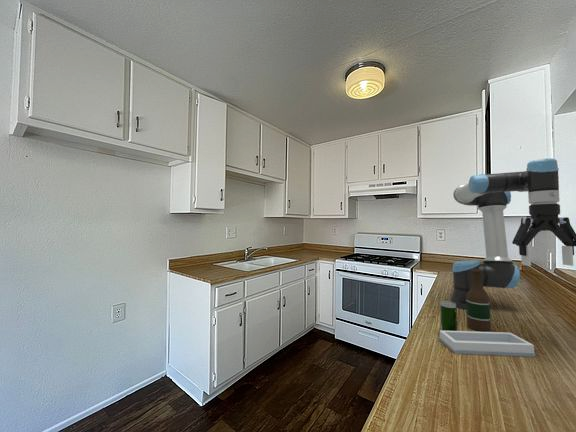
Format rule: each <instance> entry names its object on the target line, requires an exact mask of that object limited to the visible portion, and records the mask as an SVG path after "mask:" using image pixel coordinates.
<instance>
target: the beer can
mask: <svg viewBox="0 0 576 432" xmlns="http://www.w3.org/2000/svg"><path fill="white" fill-rule="evenodd" d="M439 307H440V308H439V309H440V310H439V311H440V313H439V314H440V330H442V331H459V330H458V309H457V308H458V307H457V306H456V303H453V302H450V300H442V301H440V304H439Z"/></svg>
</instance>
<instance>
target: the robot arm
mask: <svg viewBox="0 0 576 432" xmlns="http://www.w3.org/2000/svg"><path fill="white" fill-rule="evenodd" d="M559 169H560V168H559V166H558V160H557V159H555V158H541V159H535V160H530V161H529V162H527V164H526V170H524V171H513V172H512V171H511V172H510V171H509V172H501V173H485V174H484V173H482V174H481V173H480V174H476V175H475V174H474V175H471V176H470V177H469V180H468V183H466V184H462V185H461V184H460V185H459V186H457V188H455V189H454V191H453V199H454V200H455V201H456V202H457V203H458V204H461V205H464V206H477V209H478V210H479V211H480V212H481V214H482V222H483V224H482V225H483V233H484V235H483V236H484V237H483V238H484V245H485V246H484V248H485V256H486V257H485V258H484V259H483V260H482V262H483V263H481V262H480V260H476V259H475V260H473V259H472V260H471V259H470V260H469V259H468V260H467V259H466V260H458V261H454V263H453V264H452V270H451V271H452V280H453V281H452V282H453V284H452V285H453V287H452V288H453V290H452V293H451V296H450V299H449V302H453V303H456V306H457V308H459V309H463V310H467V303H466V297H467V293H468V291H469V290H470V289H471V285H472V272H471V269H473V268H476V269H481V270H482V272H481V274H482V282H483V288H495V289H496V288H497V289H499V288H500V289H515V288H516V287H517V286H518V284H519V282H520V278H521V270H520V269H519V266H518V265H517V264H514V261H513V260H512V259H511V258H510V257H509V253H508V243H507V242H508V241H507V232H506V225H505V224H506V223H505V217H504V211H505V210H506V208H508V207H507V206H508V205H509V204H511V201H512V194H511V192H519V193H523V192H525V193H527V192H528V196H527V197H528V204H530V205H529V206H528V214H529V216H530V217H531V218H530V217H521V219H520V225H519V227H518V229H517V231H516V233H515V235H514V237H513V240H512V242H511V243H512V244H513V245H516V246H517V247H518V253H519V256H520V259H521V261H520V262H521V265H522V266H526V267H531V266H532V261H531V257H532V255H531V246H528V245H530V243H531V242H532V241H533V239H534V238H535V237H536V236H537V235H538V233H540V232H542V231H545V232H546V231H549V232H552V234H554V236H555V237H556V238H557V239H558V240H559V241H560V242H561V243H562V244H563V245H561V257H562V258H561V259H562V265H563V266H564V265H565V266H569V267H571V266H573V267H574V255H575V247H576V232H575V229H574V228H573V226H572V225H571V223H570V222H571V221H570V218H569V217H566V216H565V217H563V216H562V217H559V216H560V214H561V205H560V204H559V202H560V189H559V188H560V183H559V179H560V178H559Z"/></svg>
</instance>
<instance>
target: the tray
mask: <svg viewBox="0 0 576 432" xmlns="http://www.w3.org/2000/svg"><path fill="white" fill-rule="evenodd" d="M438 339H439V341H440V342H442V344H444V345H445V346H446V348H448V349H449V350H451V351H452V352H453V354H456V355H458V354H460V355H477V356H478V355H479V356H481V355H485V356H501V357H502V356H505V357H530V358H536V353H535V345H534V344H533V343H531V342H529V341H527V340H525V339H524V338H522V337H519V336H518V335H516V334H514V333H512V332H503V331H501V332H498V331H489V332H480V331H474V330H473V331H471V330H458V331H442V330H441V329H440V330H439V338H438Z"/></svg>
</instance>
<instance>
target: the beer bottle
mask: <svg viewBox="0 0 576 432" xmlns="http://www.w3.org/2000/svg"><path fill="white" fill-rule="evenodd" d="M471 272H472V285H471V289H470V290H469V291H468V293H467V297H466V303H467V309H466V321H467V322H466V323H467V327H468V328H469V329H471V330H473V331H475V332H491V331H490V330H491V327H492V326H491V325H492V320H491V302H490V297H489V295H488V292H487V291H486V290H485V287H483V282H482V274H481V272H482V270H481V269H476V268H473V269H471Z"/></svg>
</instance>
